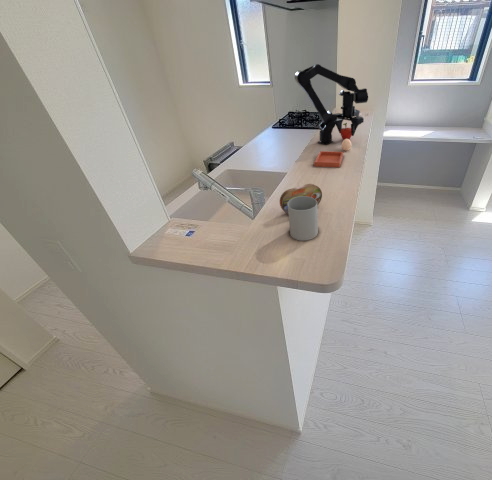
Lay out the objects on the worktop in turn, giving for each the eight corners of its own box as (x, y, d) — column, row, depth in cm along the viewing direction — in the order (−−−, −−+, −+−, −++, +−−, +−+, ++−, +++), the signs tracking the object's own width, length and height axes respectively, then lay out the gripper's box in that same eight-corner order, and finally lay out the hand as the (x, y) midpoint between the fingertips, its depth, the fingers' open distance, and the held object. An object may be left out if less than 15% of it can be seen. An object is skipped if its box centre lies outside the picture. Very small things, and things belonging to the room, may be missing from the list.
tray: (320, 155, 135) (320, 151, 134) (343, 156, 133) (343, 151, 132) (314, 166, 124) (314, 161, 122) (339, 167, 121) (339, 162, 120)
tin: (283, 217, 88) (280, 194, 83) (279, 213, 90) (277, 190, 85) (322, 205, 93) (322, 183, 88) (318, 202, 96) (317, 180, 91)
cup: (318, 225, 83) (318, 196, 78) (317, 240, 77) (316, 210, 71) (292, 224, 84) (289, 196, 78) (288, 240, 78) (285, 210, 72)
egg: (342, 148, 142) (343, 137, 139) (352, 149, 141) (352, 137, 137) (340, 151, 139) (340, 139, 135) (349, 152, 137) (350, 140, 133)
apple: (339, 138, 157) (340, 120, 152) (351, 138, 157) (352, 119, 151) (340, 142, 151) (341, 123, 145) (352, 141, 151) (354, 123, 145)
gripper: (371, 103, 142) (368, 134, 151) (344, 100, 153) (343, 129, 162) (357, 107, 136) (355, 138, 145) (331, 103, 147) (330, 133, 157)
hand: (346, 134), depth 152 cm, fingers open, 9 cm apart
